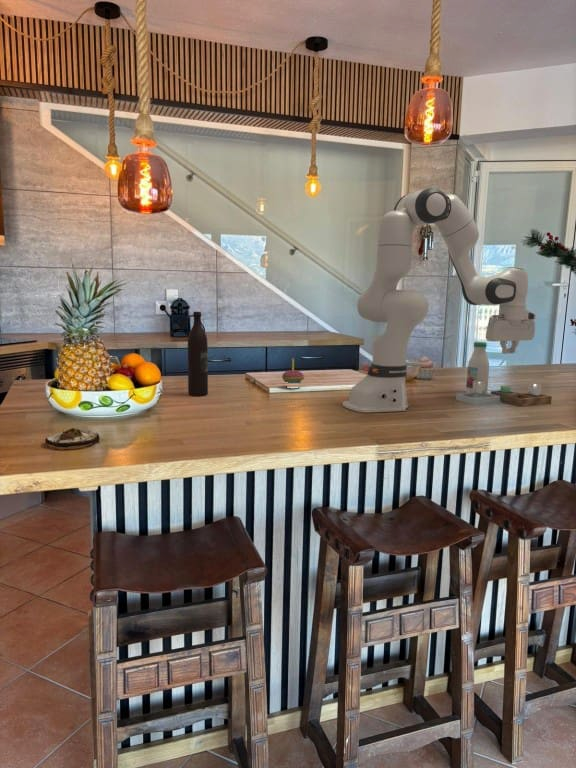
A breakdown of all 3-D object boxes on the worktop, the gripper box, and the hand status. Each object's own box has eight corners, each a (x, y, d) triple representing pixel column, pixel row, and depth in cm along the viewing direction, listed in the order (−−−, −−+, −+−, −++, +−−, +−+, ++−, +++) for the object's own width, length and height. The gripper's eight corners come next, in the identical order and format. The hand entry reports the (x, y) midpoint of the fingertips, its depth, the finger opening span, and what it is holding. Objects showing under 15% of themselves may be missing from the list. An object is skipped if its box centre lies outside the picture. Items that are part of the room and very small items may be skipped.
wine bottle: (202, 397, 201) (201, 312, 196) (184, 395, 203) (183, 311, 198) (211, 393, 208) (210, 311, 202) (194, 392, 210) (193, 311, 205)
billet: (477, 402, 198) (478, 382, 197) (469, 400, 201) (470, 380, 200) (486, 401, 200) (487, 381, 198) (477, 399, 203) (479, 380, 202)
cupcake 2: (436, 378, 252) (437, 355, 250) (432, 381, 243) (434, 358, 242) (415, 376, 256) (416, 354, 254) (411, 379, 247) (412, 356, 245)
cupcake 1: (281, 386, 226) (281, 356, 224) (302, 386, 227) (302, 356, 224) (283, 390, 217) (283, 359, 215) (305, 390, 218) (305, 359, 216)
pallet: (519, 408, 192) (520, 399, 191) (501, 403, 199) (502, 395, 198) (550, 404, 198) (551, 396, 198) (532, 400, 205) (533, 392, 205)
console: (504, 402, 200) (505, 394, 200) (490, 399, 206) (490, 391, 206) (519, 401, 203) (520, 393, 203) (504, 397, 209) (504, 389, 209)
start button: (505, 396, 202) (505, 387, 202) (497, 394, 205) (498, 386, 205) (512, 395, 204) (512, 387, 203) (504, 393, 207) (505, 385, 206)
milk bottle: (484, 393, 218) (488, 341, 215) (489, 397, 210) (493, 343, 207) (463, 392, 219) (467, 340, 215) (468, 396, 211) (472, 343, 208)
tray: (473, 406, 194) (474, 398, 194) (455, 401, 202) (456, 394, 202) (499, 403, 199) (500, 396, 199) (480, 398, 207) (481, 391, 207)
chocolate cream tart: (70, 457, 132) (69, 440, 131) (27, 447, 139) (26, 431, 138) (116, 442, 145) (116, 426, 144) (76, 434, 152) (75, 419, 151)
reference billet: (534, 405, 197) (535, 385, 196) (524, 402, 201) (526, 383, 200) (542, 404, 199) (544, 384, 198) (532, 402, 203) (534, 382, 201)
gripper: (496, 315, 192) (493, 355, 195) (539, 314, 201) (535, 353, 203) (483, 314, 198) (480, 353, 200) (525, 313, 206) (521, 351, 209)
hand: (508, 353), depth 202 cm, fingers closed
